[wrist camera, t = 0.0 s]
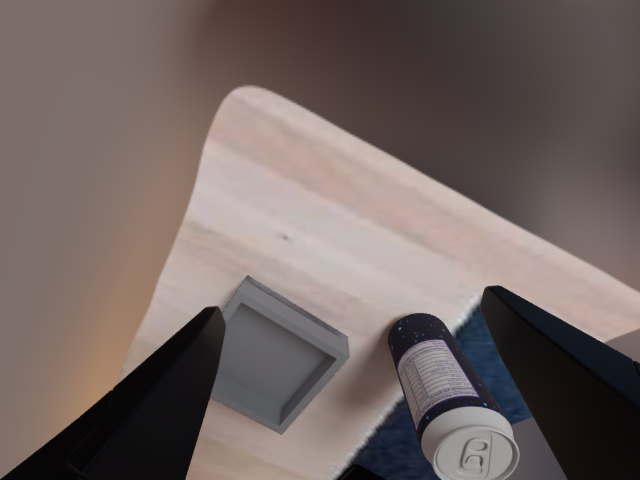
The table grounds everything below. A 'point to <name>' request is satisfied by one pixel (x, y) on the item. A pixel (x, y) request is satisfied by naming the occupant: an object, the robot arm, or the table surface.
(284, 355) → the tray
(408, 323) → the beverage can
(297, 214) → the table surface
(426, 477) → the table surface
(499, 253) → the table surface
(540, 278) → the table surface
